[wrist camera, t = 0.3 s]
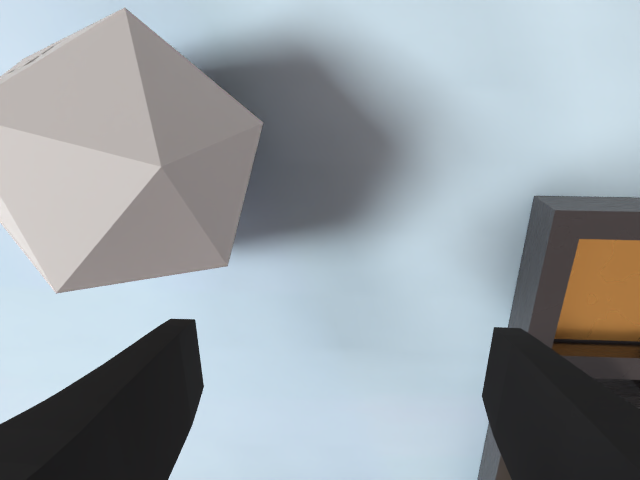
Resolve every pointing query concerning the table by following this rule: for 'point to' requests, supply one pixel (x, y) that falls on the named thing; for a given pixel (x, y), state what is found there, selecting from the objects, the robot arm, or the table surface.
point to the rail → (579, 291)
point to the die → (120, 158)
